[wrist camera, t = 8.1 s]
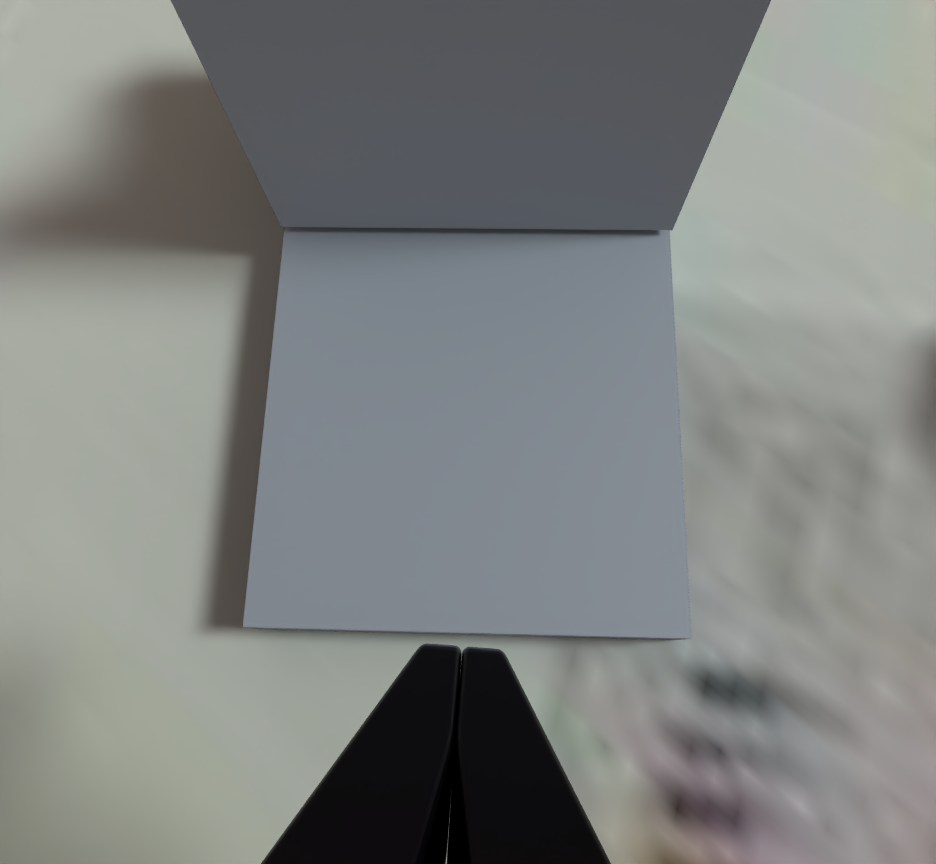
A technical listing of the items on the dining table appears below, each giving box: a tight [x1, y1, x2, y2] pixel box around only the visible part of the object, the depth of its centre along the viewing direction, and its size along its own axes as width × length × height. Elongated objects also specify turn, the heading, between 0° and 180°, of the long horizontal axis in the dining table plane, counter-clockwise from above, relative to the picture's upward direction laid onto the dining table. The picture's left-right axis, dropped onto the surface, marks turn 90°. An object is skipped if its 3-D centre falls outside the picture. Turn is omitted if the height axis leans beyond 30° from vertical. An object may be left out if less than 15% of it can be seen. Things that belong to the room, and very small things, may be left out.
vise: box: [243, 227, 692, 640], centre depth 20 cm, size 19×11×6 cm, turn 178°
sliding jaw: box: [171, 0, 771, 230], centre depth 17 cm, size 2×11×9 cm, turn 89°
